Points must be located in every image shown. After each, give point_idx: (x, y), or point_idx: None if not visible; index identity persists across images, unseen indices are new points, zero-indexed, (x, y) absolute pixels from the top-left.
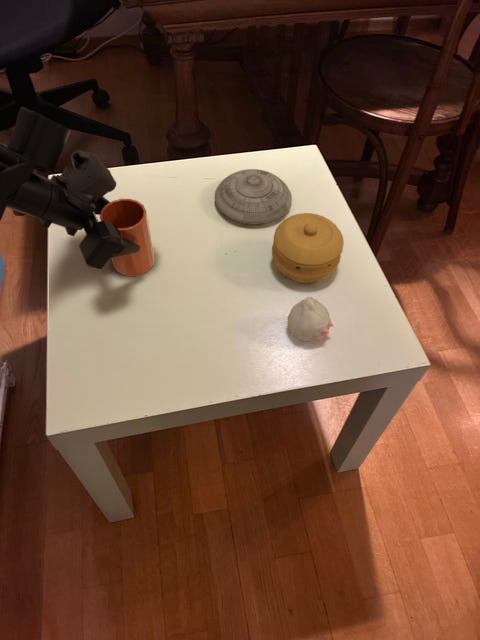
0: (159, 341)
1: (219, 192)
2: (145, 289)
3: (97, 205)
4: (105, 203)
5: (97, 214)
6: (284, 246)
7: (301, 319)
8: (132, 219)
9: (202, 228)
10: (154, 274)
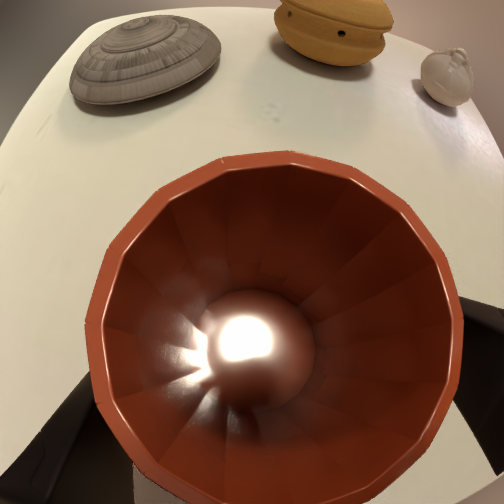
0: (484, 301)
1: (107, 84)
2: None
3: (100, 497)
4: (85, 445)
5: (133, 487)
6: (371, 13)
7: (472, 77)
8: (169, 304)
9: (174, 145)
10: None
